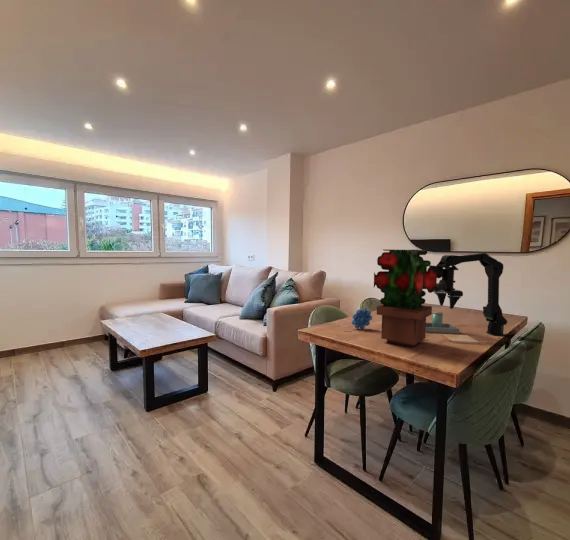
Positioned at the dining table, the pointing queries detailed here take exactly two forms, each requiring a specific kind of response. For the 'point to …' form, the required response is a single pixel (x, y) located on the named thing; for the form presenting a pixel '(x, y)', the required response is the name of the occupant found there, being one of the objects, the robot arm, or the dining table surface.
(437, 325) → the jar
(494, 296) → the robot arm
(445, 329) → the grey tray
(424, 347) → the dining table surface
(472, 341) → the tile
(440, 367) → the dining table surface
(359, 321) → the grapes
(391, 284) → the potted plant
